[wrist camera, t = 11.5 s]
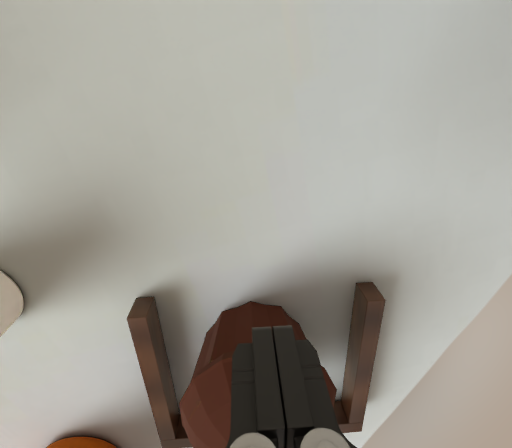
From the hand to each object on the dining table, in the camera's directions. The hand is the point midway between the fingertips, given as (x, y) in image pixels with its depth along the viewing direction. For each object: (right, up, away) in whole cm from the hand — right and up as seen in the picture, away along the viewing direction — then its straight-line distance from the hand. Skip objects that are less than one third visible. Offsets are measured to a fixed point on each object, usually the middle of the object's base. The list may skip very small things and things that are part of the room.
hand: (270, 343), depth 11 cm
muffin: (-1, -6, +17) cm, 18 cm away
